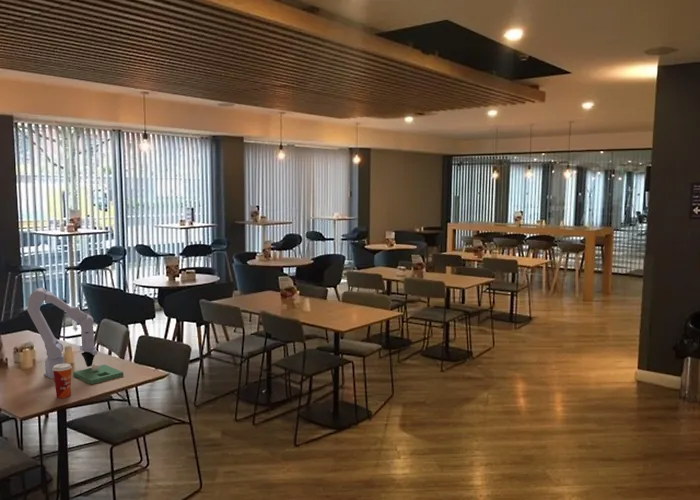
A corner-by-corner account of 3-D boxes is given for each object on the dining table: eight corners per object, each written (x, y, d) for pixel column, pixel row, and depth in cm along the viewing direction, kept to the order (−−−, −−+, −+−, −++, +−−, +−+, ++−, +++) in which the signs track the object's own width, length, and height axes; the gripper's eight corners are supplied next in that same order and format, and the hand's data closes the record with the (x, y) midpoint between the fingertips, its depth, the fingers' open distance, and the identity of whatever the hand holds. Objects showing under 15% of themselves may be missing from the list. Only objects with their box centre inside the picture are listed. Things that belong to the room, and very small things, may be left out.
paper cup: (65, 399, 254) (63, 368, 253) (50, 398, 256) (48, 367, 254) (77, 393, 262) (75, 363, 260) (62, 392, 263) (60, 362, 262)
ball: (90, 371, 287) (90, 364, 287) (97, 369, 290) (97, 362, 289) (94, 372, 285) (93, 365, 284) (101, 370, 287) (100, 364, 287)
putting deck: (73, 375, 286) (73, 372, 286) (105, 368, 298) (104, 364, 298) (91, 384, 274) (91, 380, 273) (123, 376, 286) (123, 372, 285)
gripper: (102, 340, 288) (104, 367, 290) (89, 335, 298) (90, 361, 299) (88, 343, 283) (90, 370, 285) (75, 338, 293) (76, 364, 294)
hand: (89, 366), depth 292 cm, fingers closed
